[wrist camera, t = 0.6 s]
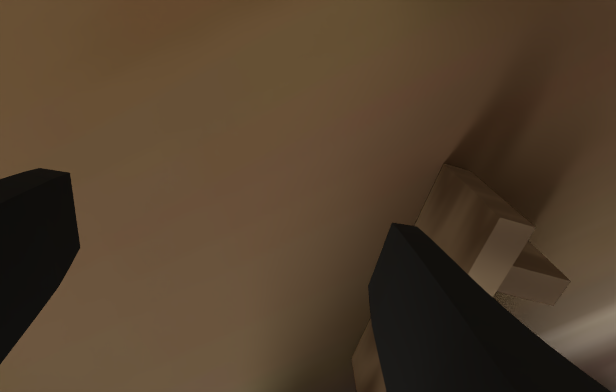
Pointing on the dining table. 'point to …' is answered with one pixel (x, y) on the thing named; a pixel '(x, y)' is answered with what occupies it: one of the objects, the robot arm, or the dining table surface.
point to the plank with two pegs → (473, 253)
